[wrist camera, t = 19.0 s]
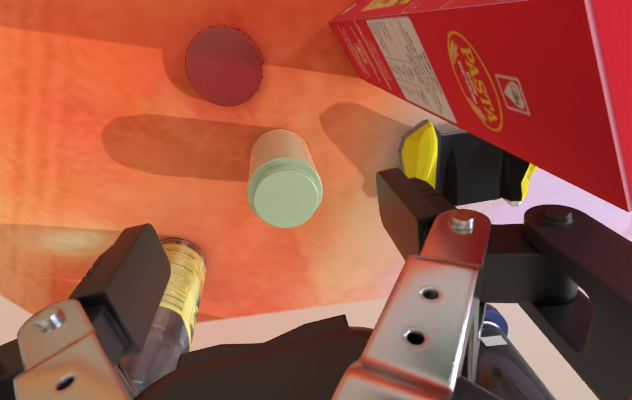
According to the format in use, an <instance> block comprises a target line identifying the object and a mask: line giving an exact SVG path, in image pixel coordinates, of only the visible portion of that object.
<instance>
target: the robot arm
mask: <svg viewBox="0 0 632 400" xmlns="http://www.w3.org/2000/svg"><path fill="white" fill-rule="evenodd" d="M376 184H377V193H378V202H379V211H380V216H381V220H382V223H383V226H384V228H385V229H386V231H387V232H388V234H389V236H390V237H391V239H392V240H393V242H394V244H395V245H396V247H397V248H398V250H399V252H400V253H401V255H402V256H403V258H404V260H405V261H406V262H405V264H404V266H403V269H402V271H401V273H400V275H399V277H398V279H397V281H396V283H395V285H394V288H393V290H392V292H391V294H390V296H389V298H388V300H387V302H386V304H385V307H384V309H383V311H382V313H381V315H380V317H379V319H378V322H377V323H376V326H375V328H374V329H371V328H365V327H349V326H348V323H347V320H346V316H345V315H340V316H336V317H331V318H327V319H323V320H320V321H315V322H311V323H307V324H304V325H302V326H299V327H298V328H296V329H293V330H291V331H289V332H287V333H284V334H282V335H280V336H278V337H276V338H274V339H271V340H269V341H267V342H264V343H258V344H257V343H256V344H221V345H217V346H212V347H208V348H204V349H200V350H196V351H192V352H188V353H183V354H180V355H179V359H178V363H177V366H176V370H174V371H172V372H170V373H168V374H166V375H165V376H163V377H161V378H160V379H158V380H157V381H155V382H154V383H152V384H151V385H149V386H148V387H147V388H146V389H144V390H143V391H142V392H141V393H140V394H139V395H138V393H137V391H136V390H135V388H134V386H133V384H132V383H131V381H130V379H129V377H128V376H127V374H126V372H125V370H124V369H123V367H122V366H121V364H120V361H121V359H122V357H126V356H130V355H135V354H139V353H141V352H142V349H143V346H144V344H145V341H146V339H147V336H148V333H149V331H150V328H151V326H152V323H153V321H154V318H155V315H156V313H157V310H158V308H159V305H160V302H161V300H162V297H163V295H164V292H165V289H166V287H167V284H168V282H169V279H170V276H171V266H170V262H169V259H168V257H167V255H166V253H165V251H164V248H163V246H162V244H161V242H160V240H159V238H158V236H157V233H156V231H155V229H154V228H153V226H152V225H151V224H143V225H139V226H134V227H130V228H126V229H124V231H123V232H122V233H121V235H120V236H119V238H118V239H117V240H116V242H115V243H114V245H113V246H111V247H110V248H109V249H108V250H106V251H105V252H104V253H103V254H102V255H100V256H99V258H98V259H97V260H96V262H95V263H94V264H93V268H91V269H90V270H89V271H88V273H87V274H86V276H85V277H84V278H83V279H82V281H81V282H80V283H79V285H78V286H77V287H76V289H75V290H74V291H73V293H72V294H71V295H70V297H69V298H68V300H63V301H59V302H57V303H54V304H52V305H50V306H48V307H46V308H44V309H42V310H40V311H39V312H37V313H36V314H34V315H33V316H32V317H31V318H29V319H28V320H27V321H26V322H25V323H24V324H23V325H22V327H21V328H20V329H19V331H18V334H17V339H15V340H13V341H11V342H8V343H6V344H3V345H1V346H0V400H556V398H555V397H554V396H553V395H552V393H551V392H550V391H549V390H548V388H547V387H546V386H545V385H544V383H543V382H542V381H541V380H540V378H539V377H538V376H537V375H536V374H535V372H534V371H533V370H532V368H531V367H530V366H529V364H528V363H527V362H526V361H525V359H524V358H523V357H522V356H521V355H520V353H519V352H518V351H517V349H516V348H515V347H514V345H513V344H512V343H511V342H510V340H509V339H508V338H507V337H506V335H505V334H504V332H503V330H502V329H501V328H500V327H499V325H498V324H497V323H496V322H495V321H493V320H491V319H487V318H484V316H485V310H486V303H518V304H519V305H520V307H521V308H522V309H523V310H524V311H525V312H526V314H527V315H528V316H529V317H530V318H531V319H532V321H533V322H534V323H535V324H536V325H537V327H538V328H539V329H540V330H541V331H542V333H543V334H544V335H545V336H546V337H547V338H548V340H549V341H550V342H551V343H552V344H553V345H554V347H555V348H556V349H557V350H558V351H559V352H560V354H561V355H562V356H563V357H564V358H565V360H566V361H567V362H568V363H569V364H570V365H571V367H572V368H573V369H574V370H575V371H576V373H578V375H579V376H580V377H581V379H582V380H583V381H584V382H585V383H586V384H587V386H588V387H589V388H590V389H591V390H592V391H593V393H594V394H595V395H596V396H597V397H598V399H599V400H632V242H631V241H629V240H627V239H626V238H624V237H623V236H621V235H619V234H618V233H616V232H614V231H613V230H611V229H610V228H608V227H606V226H605V225H603V224H601V223H600V222H598V221H596V220H595V219H593V218H592V217H590V216H588V215H587V214H585V213H583V212H581V211H579V210H577V209H574V208H571V207H567V206H562V205H539V206H535V207H532V208H530V209H528V210H527V211H526V212H525V214H524V223H523V224H504V225H494V224H491V222H490V220H489V218H488V217H487V216H485V215H484V214H482V213H480V212H477V211H473V210H467V209H457V208H456V207H455V206H454V205H452V204H451V203H450V202H449V201H448V200H447V199H446V198H445V197H444V196H442V195H440V193H439V192H438V191H437V190H436V189H435V190H434V187H432V186H431V185H430V184H429V183H428V182H427V181H424V180H421V179H419V178H416V177H413V178H408V177H407V176H406V175H405V174H404V173H403V172H402V171H401V170H400V169H399V168H393V169H388V170H384V171H379V172H377V173H376ZM578 286H579V287H581V288H582V289H583V290H584V291H585V292H586V294H587V295H588V297H589V298H587V297H586V296H585V295H584V294H583V293H582V292H581V291H580V290H579V289H578Z"/></svg>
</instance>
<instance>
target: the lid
mask: <svg viewBox="0 0 632 400" xmlns="http://www.w3.org/2000/svg"><path fill="white" fill-rule="evenodd" d="M185 58H186V72H187V75H188V78H189V80H190V82H191V84H192V86H193V87H194V89H195V90H196V91H197V92H198V93H199V94H200V95H201V96H202V97H203V98H205V99H206V100H208V101H210V102H212V103H214V104H217V105H221V106H235V105H239V104H241V103H244V102H245V101H247V100H248V99H250V98H251V97H252V96H253V95H254V94H255V92H256V91H257V90H258V87H259V86H260V83H261V79H262V78H263V75H262V72H263V67H262V65H263V62H262V59H261V56H260V53H259V49H257V47H256V45H255V44H254V43H253V41H252V40H251V38H249V37H248V36H247V35H245V34H244V33H242V32H241V31H239V29H234V28H231V27H226V25H224V26H216V27H213V26H210V28H207V29H205V30H203V31H202V32H199V33H198V35H196V36H195V37H194V39H193V40H192V41H191V43H190V44H189V47H188V49H187V53H186V57H185Z"/></svg>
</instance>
